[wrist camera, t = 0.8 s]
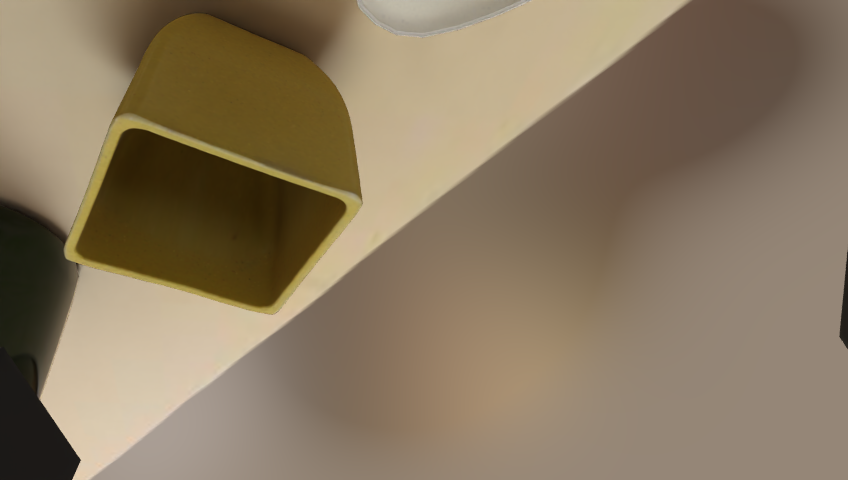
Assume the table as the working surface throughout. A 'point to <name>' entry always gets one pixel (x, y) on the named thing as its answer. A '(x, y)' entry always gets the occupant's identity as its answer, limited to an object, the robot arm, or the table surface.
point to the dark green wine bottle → (33, 295)
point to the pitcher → (432, 14)
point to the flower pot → (220, 169)
